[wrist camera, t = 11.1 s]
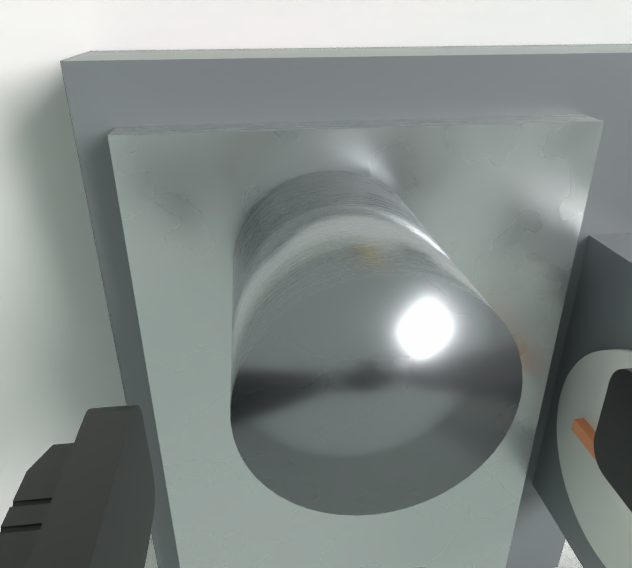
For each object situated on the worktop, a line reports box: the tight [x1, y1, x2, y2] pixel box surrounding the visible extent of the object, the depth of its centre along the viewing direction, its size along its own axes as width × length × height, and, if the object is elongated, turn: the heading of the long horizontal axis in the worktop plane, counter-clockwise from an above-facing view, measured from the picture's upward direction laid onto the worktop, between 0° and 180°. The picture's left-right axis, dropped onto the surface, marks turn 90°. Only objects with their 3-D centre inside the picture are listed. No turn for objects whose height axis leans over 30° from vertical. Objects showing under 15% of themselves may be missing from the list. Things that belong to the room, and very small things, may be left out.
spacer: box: [230, 170, 523, 516], centre depth 12 cm, size 5×5×6 cm
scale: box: [60, 44, 632, 568], centre depth 16 cm, size 16×20×11 cm
